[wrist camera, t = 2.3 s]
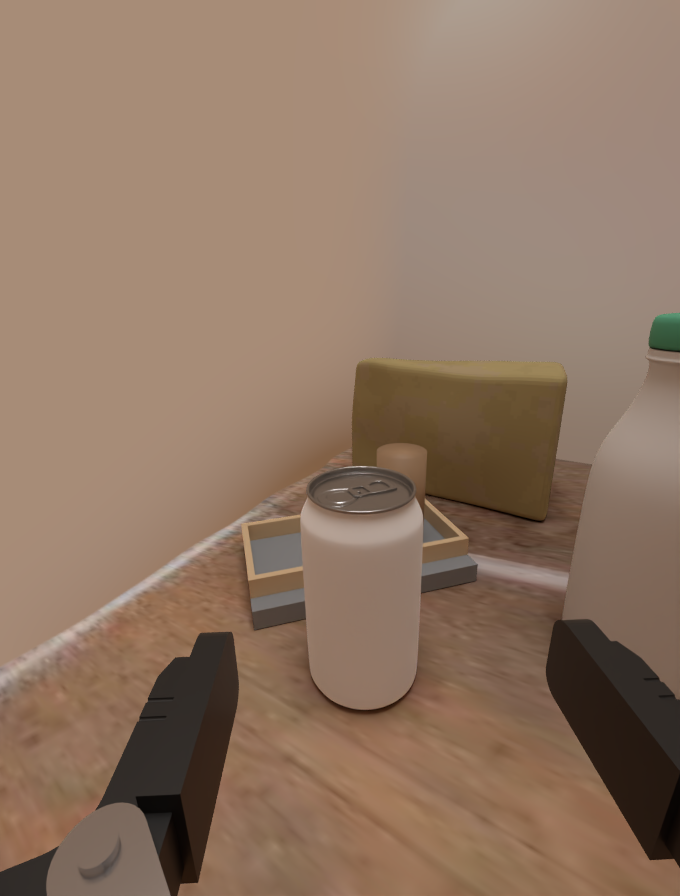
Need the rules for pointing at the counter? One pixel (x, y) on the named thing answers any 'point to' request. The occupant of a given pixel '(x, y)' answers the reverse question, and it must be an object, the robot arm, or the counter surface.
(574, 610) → the milk bottle
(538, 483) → the cheese
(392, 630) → the can
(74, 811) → the counter surface
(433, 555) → the socket board
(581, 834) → the counter surface
